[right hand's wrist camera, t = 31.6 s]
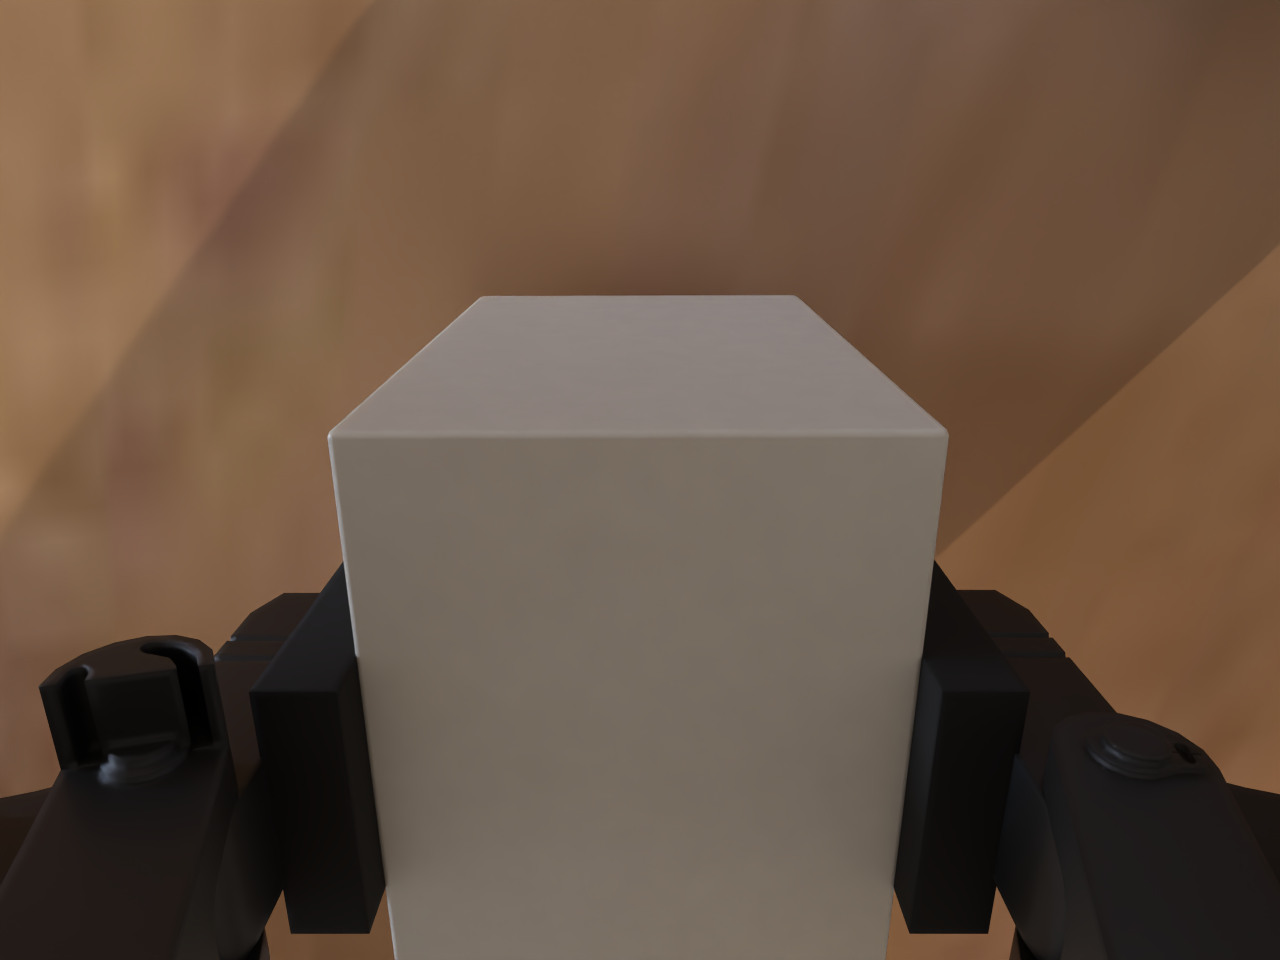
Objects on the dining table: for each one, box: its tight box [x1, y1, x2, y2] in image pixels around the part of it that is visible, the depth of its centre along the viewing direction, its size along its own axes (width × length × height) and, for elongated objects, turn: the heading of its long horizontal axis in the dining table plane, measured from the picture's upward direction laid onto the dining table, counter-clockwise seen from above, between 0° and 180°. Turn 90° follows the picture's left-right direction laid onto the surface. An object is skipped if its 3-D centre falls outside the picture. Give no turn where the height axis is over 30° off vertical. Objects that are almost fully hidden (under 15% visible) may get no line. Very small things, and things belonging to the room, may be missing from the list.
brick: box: [328, 295, 949, 960], centre depth 12 cm, size 7×5×8 cm
